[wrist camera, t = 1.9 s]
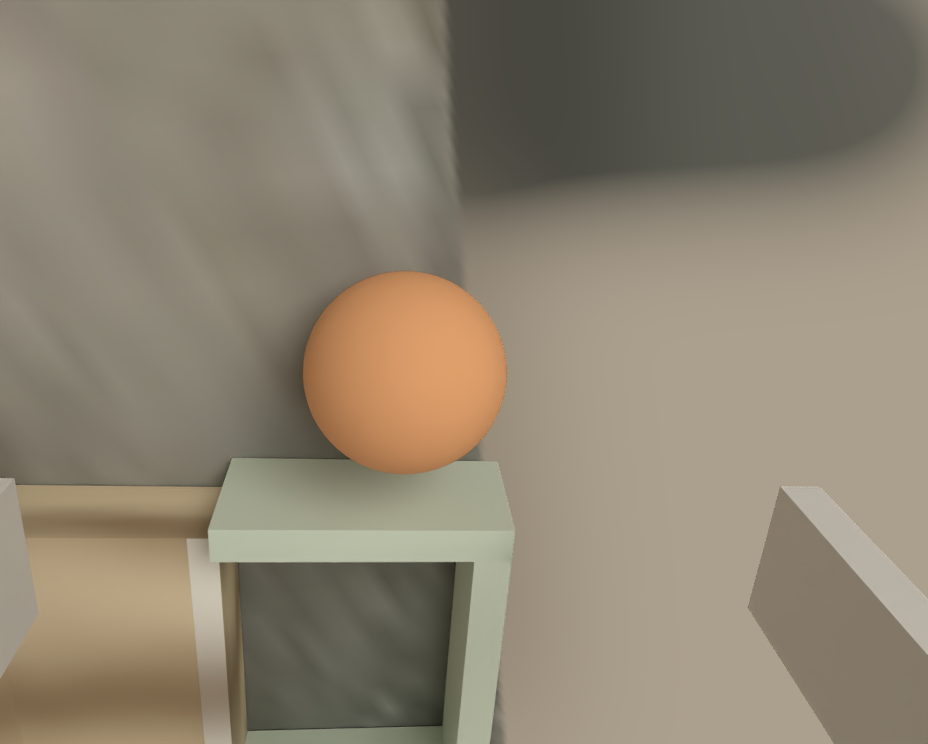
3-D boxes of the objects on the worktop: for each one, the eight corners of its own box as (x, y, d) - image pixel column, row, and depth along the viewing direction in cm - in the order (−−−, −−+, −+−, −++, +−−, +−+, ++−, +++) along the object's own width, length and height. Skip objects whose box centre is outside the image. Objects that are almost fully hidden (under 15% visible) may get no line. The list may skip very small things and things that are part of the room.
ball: (310, 242, 20) (290, 308, 16) (500, 251, 21) (533, 317, 16) (312, 413, 22) (294, 514, 18) (485, 416, 23) (510, 515, 18)
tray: (232, 457, 23) (207, 530, 20) (497, 461, 24) (515, 530, 20) (248, 751, 28) (231, 847, 24) (467, 745, 29) (478, 836, 25)
